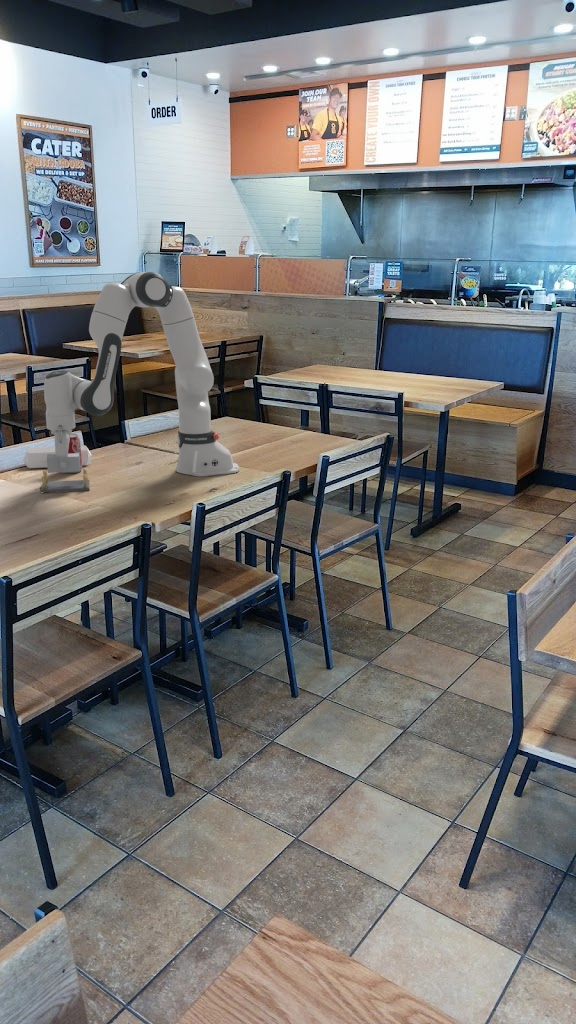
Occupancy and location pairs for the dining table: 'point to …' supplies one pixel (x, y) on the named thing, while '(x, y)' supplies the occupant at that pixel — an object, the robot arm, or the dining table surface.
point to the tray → (65, 484)
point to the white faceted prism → (39, 455)
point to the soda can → (75, 448)
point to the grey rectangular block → (71, 463)
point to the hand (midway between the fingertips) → (63, 464)
